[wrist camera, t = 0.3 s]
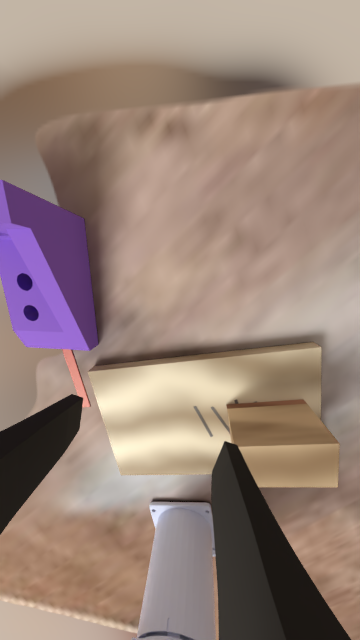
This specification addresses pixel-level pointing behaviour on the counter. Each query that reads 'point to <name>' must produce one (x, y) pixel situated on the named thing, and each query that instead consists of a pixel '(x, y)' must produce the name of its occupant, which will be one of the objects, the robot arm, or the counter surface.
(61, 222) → the bracket
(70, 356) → the red square bar
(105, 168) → the counter surface
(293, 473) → the block
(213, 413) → the board
